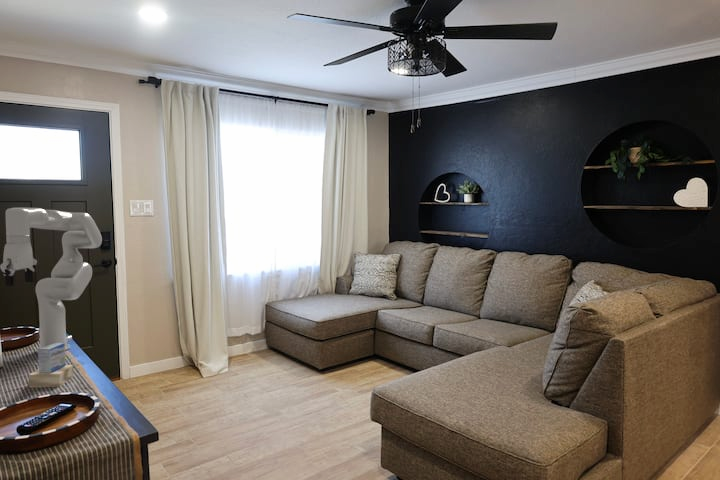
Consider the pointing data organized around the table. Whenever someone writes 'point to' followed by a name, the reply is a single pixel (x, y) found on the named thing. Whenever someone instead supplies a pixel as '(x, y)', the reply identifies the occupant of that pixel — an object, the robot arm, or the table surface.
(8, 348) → the table surface
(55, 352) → the medicine box
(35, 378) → the wooden block
